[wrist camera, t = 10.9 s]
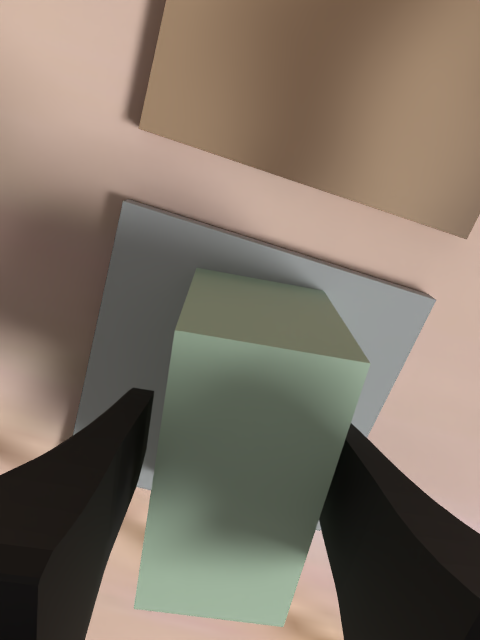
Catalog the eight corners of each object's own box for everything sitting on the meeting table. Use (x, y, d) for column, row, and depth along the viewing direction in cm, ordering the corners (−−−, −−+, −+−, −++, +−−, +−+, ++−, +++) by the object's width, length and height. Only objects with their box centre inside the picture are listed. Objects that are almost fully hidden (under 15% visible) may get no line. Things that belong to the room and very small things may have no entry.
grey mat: (428, 294, 14) (436, 300, 14) (317, 518, 18) (319, 530, 17) (127, 198, 13) (122, 201, 12) (71, 459, 16) (65, 469, 16)
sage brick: (323, 290, 13) (370, 363, 9) (269, 491, 16) (283, 627, 12) (196, 267, 13) (174, 330, 8) (163, 475, 16) (133, 608, 11)
